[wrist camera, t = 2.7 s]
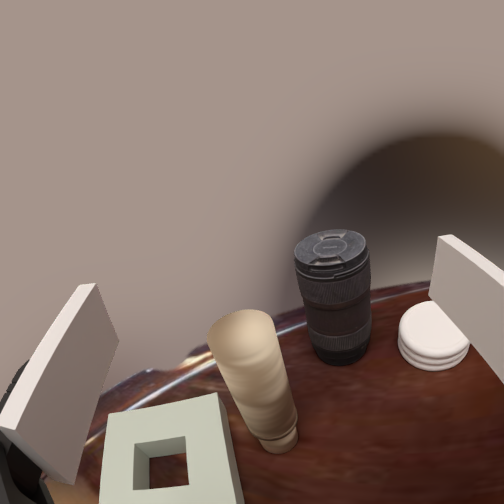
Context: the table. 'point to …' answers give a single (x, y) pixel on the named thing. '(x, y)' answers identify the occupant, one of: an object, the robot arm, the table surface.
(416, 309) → the coaster
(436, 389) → the table surface
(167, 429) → the board
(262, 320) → the leg
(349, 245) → the camera lens
